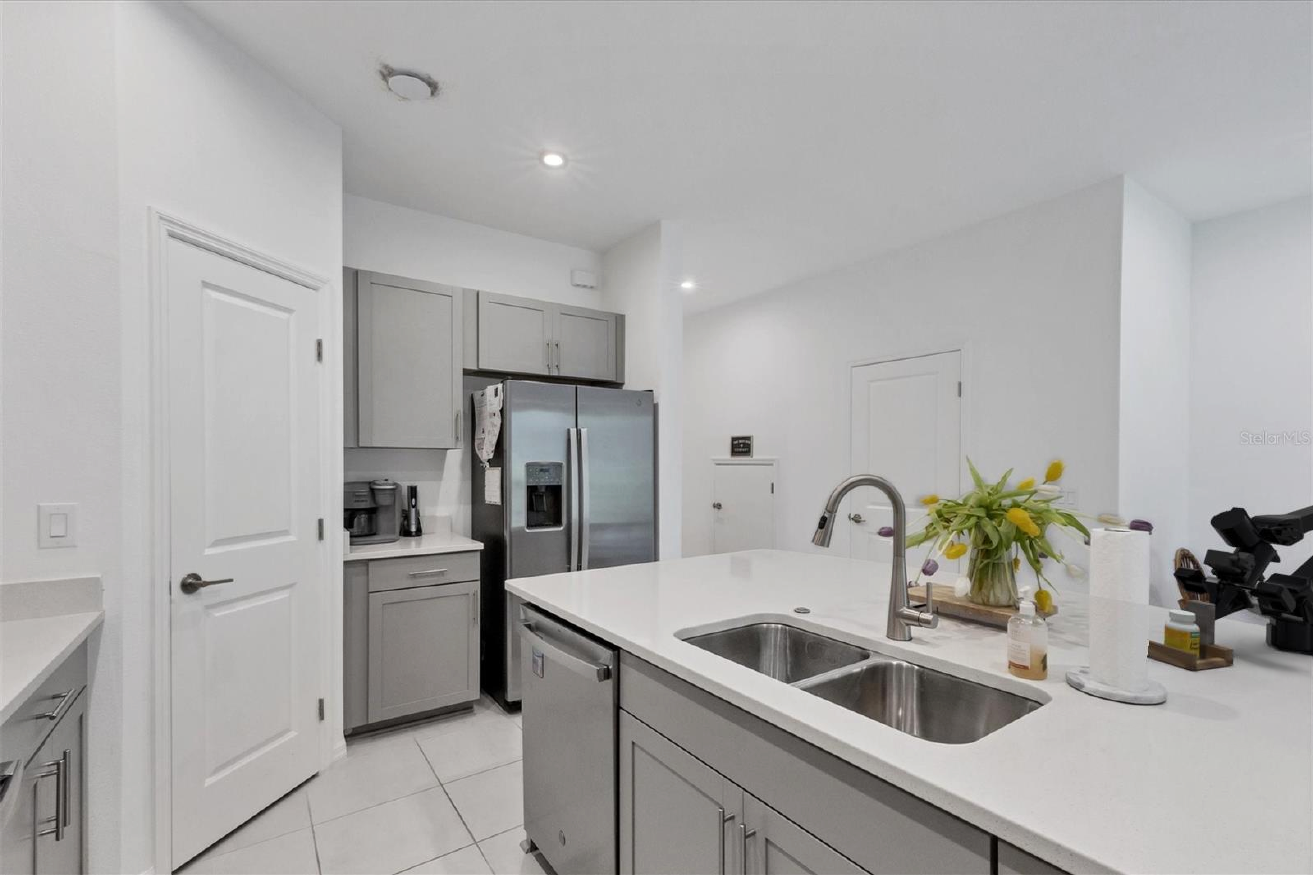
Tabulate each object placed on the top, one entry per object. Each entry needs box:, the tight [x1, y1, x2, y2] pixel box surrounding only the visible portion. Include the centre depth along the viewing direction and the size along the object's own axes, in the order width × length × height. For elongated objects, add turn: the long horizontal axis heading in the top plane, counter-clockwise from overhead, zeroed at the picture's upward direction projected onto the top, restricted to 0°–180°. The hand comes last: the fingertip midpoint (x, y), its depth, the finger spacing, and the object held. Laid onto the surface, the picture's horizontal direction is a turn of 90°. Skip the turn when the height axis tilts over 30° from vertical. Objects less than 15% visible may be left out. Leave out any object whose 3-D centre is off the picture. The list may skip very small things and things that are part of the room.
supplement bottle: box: [1163, 609, 1200, 660], centre depth 123 cm, size 5×5×10 cm
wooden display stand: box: [1147, 599, 1235, 671], centre depth 123 cm, size 12×10×11 cm
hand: (1211, 618), depth 126 cm, fingers closed
